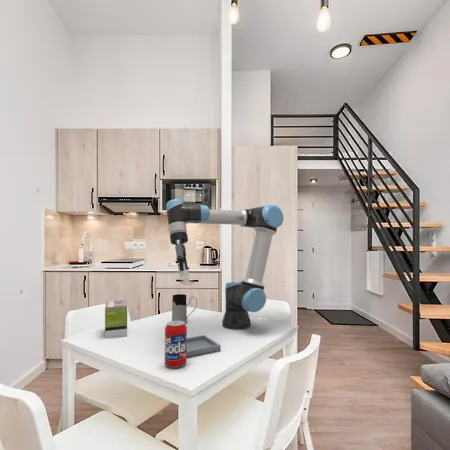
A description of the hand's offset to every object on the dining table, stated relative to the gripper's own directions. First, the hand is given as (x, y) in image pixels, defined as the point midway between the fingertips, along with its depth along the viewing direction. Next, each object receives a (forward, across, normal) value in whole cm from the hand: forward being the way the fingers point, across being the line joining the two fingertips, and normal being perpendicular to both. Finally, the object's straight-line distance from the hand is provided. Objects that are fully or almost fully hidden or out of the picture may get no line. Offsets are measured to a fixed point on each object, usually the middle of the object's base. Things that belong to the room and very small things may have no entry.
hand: (185, 282), depth 123 cm
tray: (+26, -10, 0) cm, 28 cm away
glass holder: (+14, -49, -8) cm, 51 cm away
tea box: (+13, -32, -39) cm, 52 cm away
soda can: (+30, +5, -7) cm, 31 cm away
